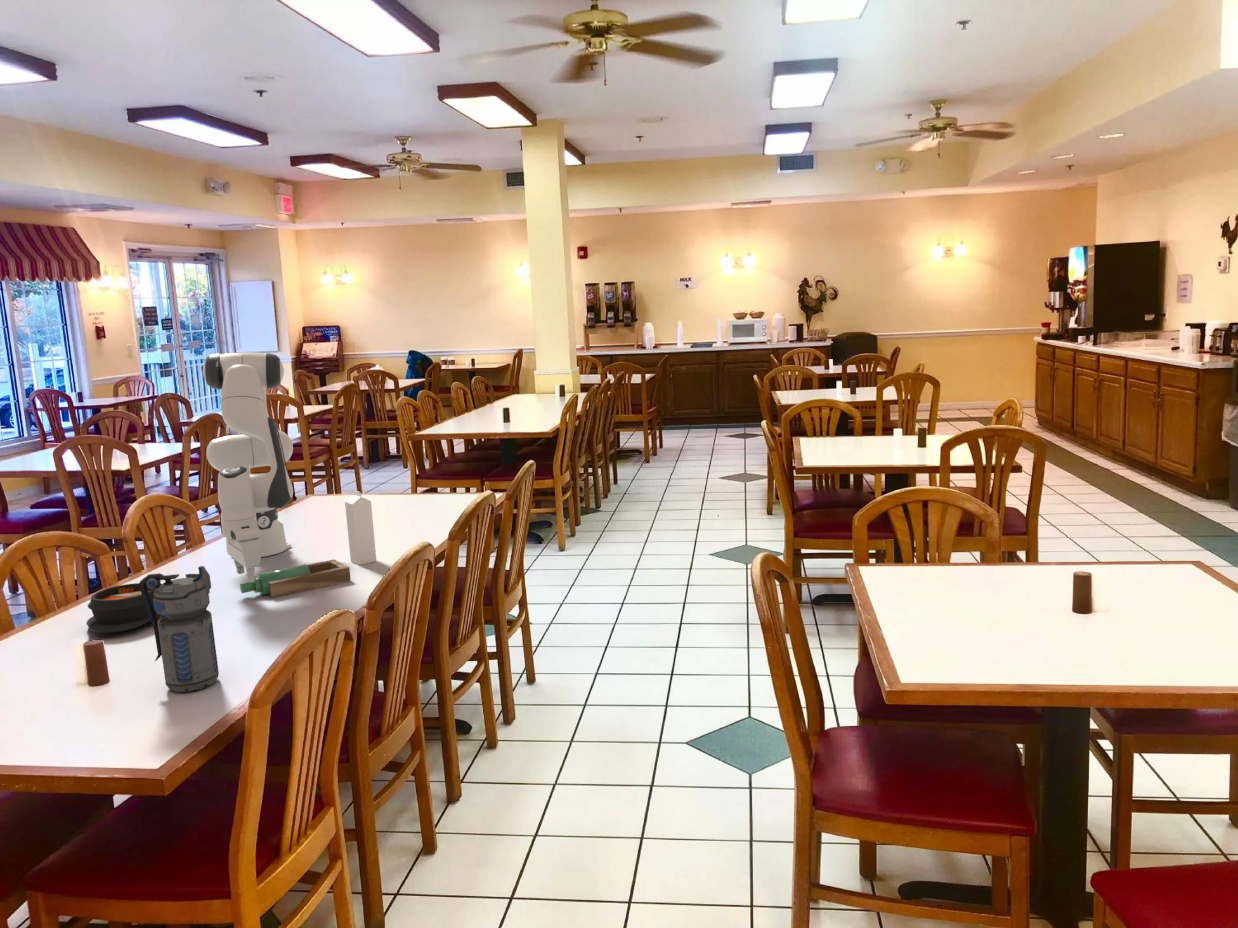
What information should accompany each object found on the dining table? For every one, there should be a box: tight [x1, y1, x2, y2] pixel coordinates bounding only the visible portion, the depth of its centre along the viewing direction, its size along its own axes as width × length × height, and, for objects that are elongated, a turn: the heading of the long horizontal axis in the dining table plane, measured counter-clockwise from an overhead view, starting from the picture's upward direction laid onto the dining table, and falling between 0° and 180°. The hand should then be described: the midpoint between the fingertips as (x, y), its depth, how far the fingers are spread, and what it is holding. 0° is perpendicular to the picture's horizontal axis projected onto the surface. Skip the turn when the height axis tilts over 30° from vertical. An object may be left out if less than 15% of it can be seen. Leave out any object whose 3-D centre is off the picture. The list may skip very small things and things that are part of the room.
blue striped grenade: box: [138, 565, 220, 693], centre depth 192 cm, size 10×13×25 cm
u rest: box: [268, 559, 352, 599], centre depth 264 cm, size 12×22×4 cm, turn 127°
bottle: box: [239, 563, 310, 596], centre depth 258 cm, size 6×6×18 cm
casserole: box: [86, 582, 161, 634], centre depth 237 cm, size 25×19×8 cm
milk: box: [344, 489, 377, 566], centre depth 285 cm, size 6×6×22 cm
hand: (245, 576), depth 254 cm, fingers open, 8 cm apart
